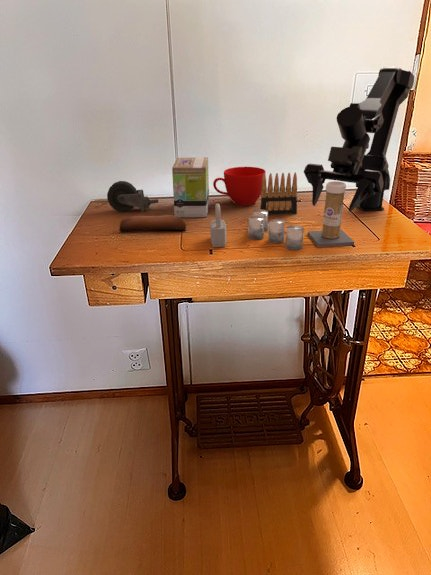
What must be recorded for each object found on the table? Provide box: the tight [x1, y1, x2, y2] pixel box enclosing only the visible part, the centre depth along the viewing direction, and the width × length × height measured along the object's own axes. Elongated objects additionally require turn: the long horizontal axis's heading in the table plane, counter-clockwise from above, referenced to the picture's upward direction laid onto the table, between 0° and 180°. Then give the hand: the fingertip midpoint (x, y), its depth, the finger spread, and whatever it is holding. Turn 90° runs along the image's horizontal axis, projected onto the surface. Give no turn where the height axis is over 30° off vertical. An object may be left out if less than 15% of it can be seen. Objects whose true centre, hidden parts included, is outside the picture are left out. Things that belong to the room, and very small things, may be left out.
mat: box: [307, 228, 355, 248], centre depth 113 cm, size 9×9×1 cm
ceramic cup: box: [212, 166, 266, 207], centre depth 140 cm, size 13×17×10 cm
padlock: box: [209, 202, 227, 248], centre depth 111 cm, size 7×4×10 cm, turn 2°
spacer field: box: [247, 209, 305, 251], centre depth 113 cm, size 12×18×5 cm
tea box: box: [171, 156, 210, 218], centre depth 134 cm, size 15×10×15 cm
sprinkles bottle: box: [321, 180, 347, 239], centre depth 109 cm, size 5×5×13 cm
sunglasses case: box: [119, 214, 187, 233], centre depth 124 cm, size 18×7×7 cm
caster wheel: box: [106, 180, 159, 213], centre depth 137 cm, size 6×10×15 cm
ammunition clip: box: [259, 172, 298, 216], centre depth 130 cm, size 11×2×12 cm, turn 90°
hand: (331, 207), depth 108 cm, fingers open, 9 cm apart
